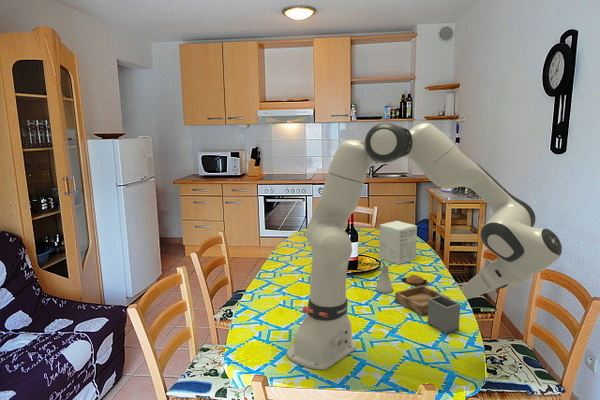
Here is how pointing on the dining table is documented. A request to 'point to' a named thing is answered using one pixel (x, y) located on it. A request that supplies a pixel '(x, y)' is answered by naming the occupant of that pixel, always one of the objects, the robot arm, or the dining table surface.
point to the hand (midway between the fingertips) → (477, 292)
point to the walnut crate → (416, 299)
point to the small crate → (443, 314)
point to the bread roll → (415, 281)
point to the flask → (384, 281)
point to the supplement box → (397, 242)
